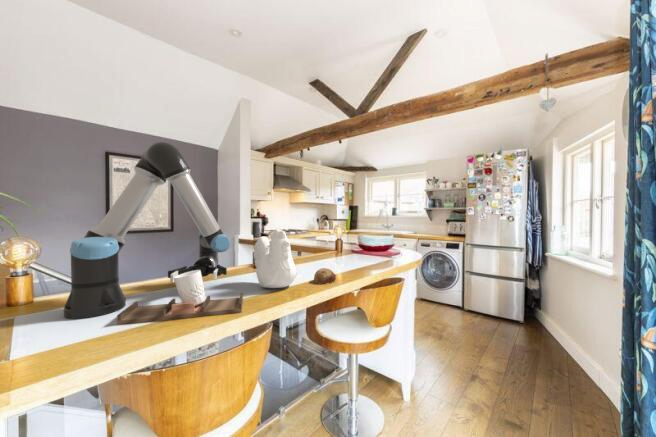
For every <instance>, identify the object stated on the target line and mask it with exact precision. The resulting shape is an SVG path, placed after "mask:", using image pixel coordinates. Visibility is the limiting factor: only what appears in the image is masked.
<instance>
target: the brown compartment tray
mask: <svg viewBox="0 0 656 437" xmlns="http://www.w3.org/2000/svg"><path fill="white" fill-rule="evenodd" d="M243 301H244V293H243V292H240V293H239V297H232V298H219V299H211V295H207V296H206V300H205V301H204V302H202V303H200V304H198V305H195V303H185V304H182V302H176V298H172V299H171V300H170V301H168V303H163V304H162V303H161V304H149V305H140V306H139V301H135V302H133V303H132V304H129V306H127V307H126V308H125V309H124V310H122V311H121V312H120V313H118V314H117V318H116V320H117V321H116V322H117V326H119V325H131V324H138V323H139V324H141V323H149V322H158V321H159V322H160V321H168V320H171V321H172V320H179V319H190V318H200V317H208V316H217V315H218V316H219V315H228V314H238V313H242V311H243V303H244V302H243Z"/></svg>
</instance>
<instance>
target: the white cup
mask: <svg viewBox="0 0 656 437" xmlns="http://www.w3.org/2000/svg"><path fill="white" fill-rule="evenodd" d="M203 280H204V279H203V277H202V275H201V270H194V271H190V272H186V273H183V274H180V275H178V276H175V277H174V284H175V287H176V289H177V293H178V295H179V298H180V300H181V303H182V304H185V303H195V305H198V304H200V303H202V302H204V301H205V300H206V298H207V296H206V293H205V287H204V281H203Z"/></svg>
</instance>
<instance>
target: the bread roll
mask: <svg viewBox="0 0 656 437" xmlns="http://www.w3.org/2000/svg"><path fill="white" fill-rule="evenodd" d="M336 279H337V278H336V274H335V273H334V272H333V271H332V270H331V269H330V268H325V267H323V268H318V269H317V270H316V271H315V273H314V277H313V282H314V283H316V284H318V283H320V284H319V285H326V283H329V284H333V283H335V282H336ZM334 281H335V282H334ZM332 282H333V283H332Z"/></svg>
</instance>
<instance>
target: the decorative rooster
mask: <svg viewBox="0 0 656 437" xmlns="http://www.w3.org/2000/svg"><path fill="white" fill-rule="evenodd" d="M269 238H270V241H269ZM269 238H268V236H260V237H259V238H258V239H257V241H256V242H255V243H254V248H253V249H254V251H253V254H252V255H253V259H254V265H255V268H256V269H255V273H256V276H257V278H256V279H257V280H258V283H259V284H260V286H261V287H262V288H267V289H278V288H279V289H280V288H286V287H288V286H290V285H292V284H293V282H294V281H295V279H296V278H297V276H298V271H297V268H296V265H295V262H294V259H293V256H292V248H291V242H290V239H289V237H287V234H286V232H285V230H281V229H279V228H277V229H275V230H273V231H271V232H270V234H269Z"/></svg>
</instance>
